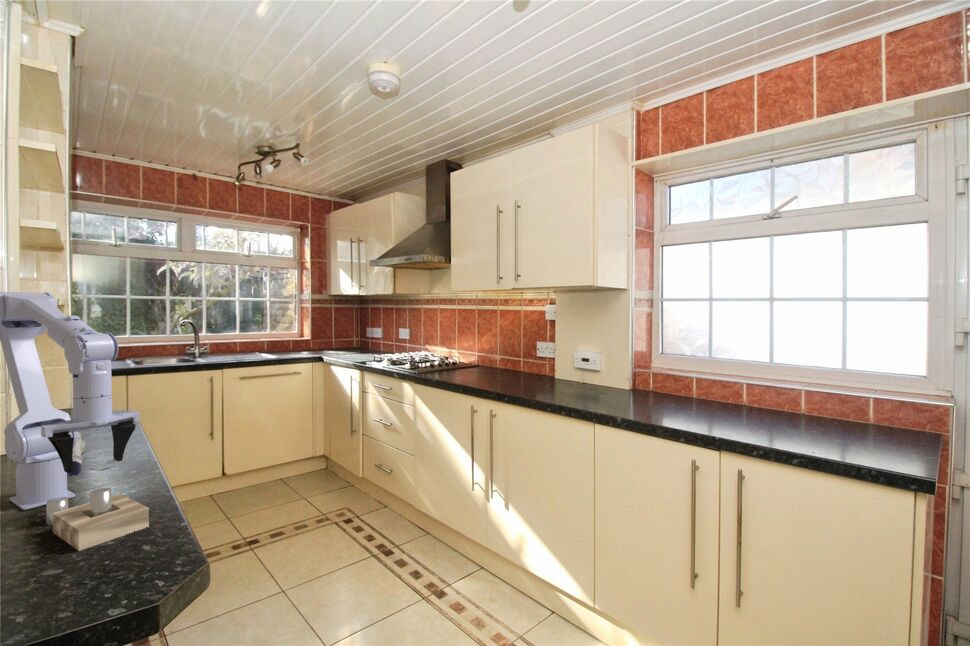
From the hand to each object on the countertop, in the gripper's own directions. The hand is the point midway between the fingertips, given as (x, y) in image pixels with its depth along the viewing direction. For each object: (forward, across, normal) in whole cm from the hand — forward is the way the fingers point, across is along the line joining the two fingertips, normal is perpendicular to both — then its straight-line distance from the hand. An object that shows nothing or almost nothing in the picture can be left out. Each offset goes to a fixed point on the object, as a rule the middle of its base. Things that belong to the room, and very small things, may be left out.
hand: (94, 465), depth 88 cm
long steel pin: (+9, -2, -9) cm, 13 cm away
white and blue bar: (+10, +9, +42) cm, 44 cm away
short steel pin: (+9, -5, +2) cm, 11 cm away
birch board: (+9, -2, -9) cm, 13 cm away
